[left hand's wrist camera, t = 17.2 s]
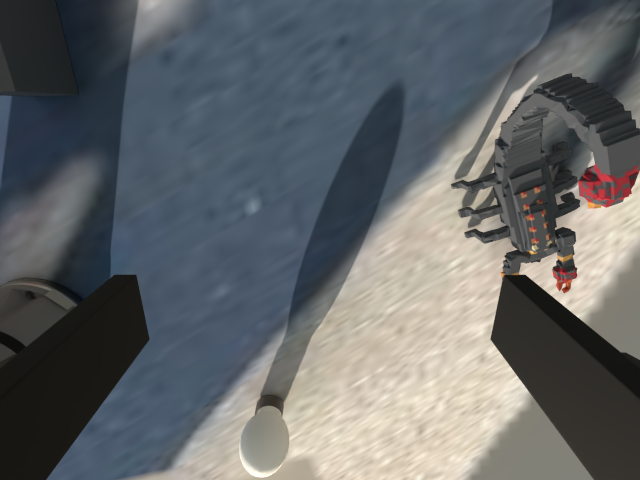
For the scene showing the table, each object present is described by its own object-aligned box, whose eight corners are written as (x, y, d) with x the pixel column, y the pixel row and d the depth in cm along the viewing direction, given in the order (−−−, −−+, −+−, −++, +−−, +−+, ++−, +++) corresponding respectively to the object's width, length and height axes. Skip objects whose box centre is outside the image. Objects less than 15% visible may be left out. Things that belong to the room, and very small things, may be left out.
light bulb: (248, 418, 56) (231, 488, 45) (250, 384, 53) (234, 450, 43) (290, 422, 56) (283, 493, 46) (294, 389, 54) (288, 456, 43)
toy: (550, 61, 38) (741, 22, 21) (583, 269, 47) (736, 363, 29) (430, 111, 40) (515, 113, 22) (483, 302, 48) (573, 409, 31)
